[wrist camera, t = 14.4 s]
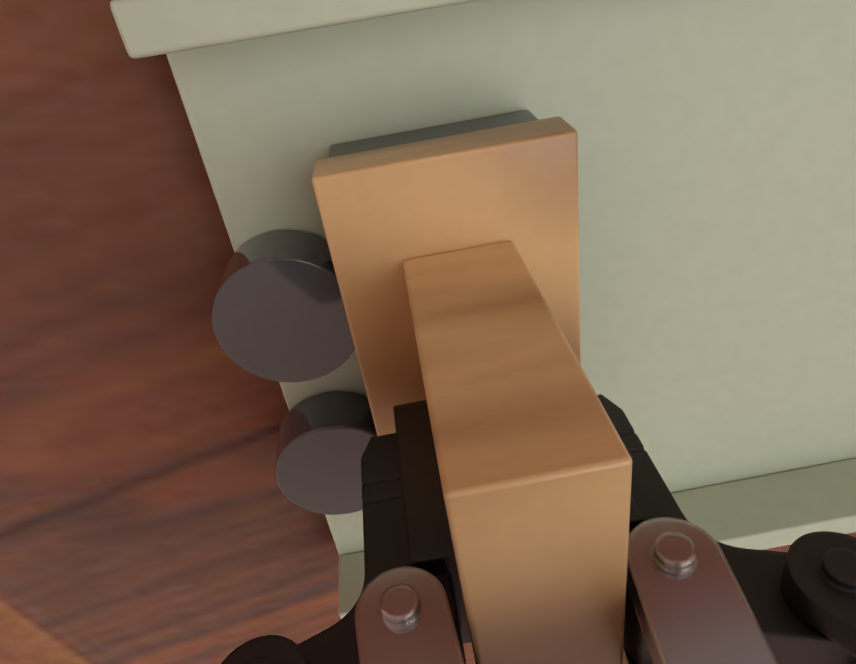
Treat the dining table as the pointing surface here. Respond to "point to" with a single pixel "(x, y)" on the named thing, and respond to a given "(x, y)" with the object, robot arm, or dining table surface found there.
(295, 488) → the pebble
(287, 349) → the pebble
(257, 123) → the tray
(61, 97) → the dining table surface
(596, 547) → the wooden board eraser
